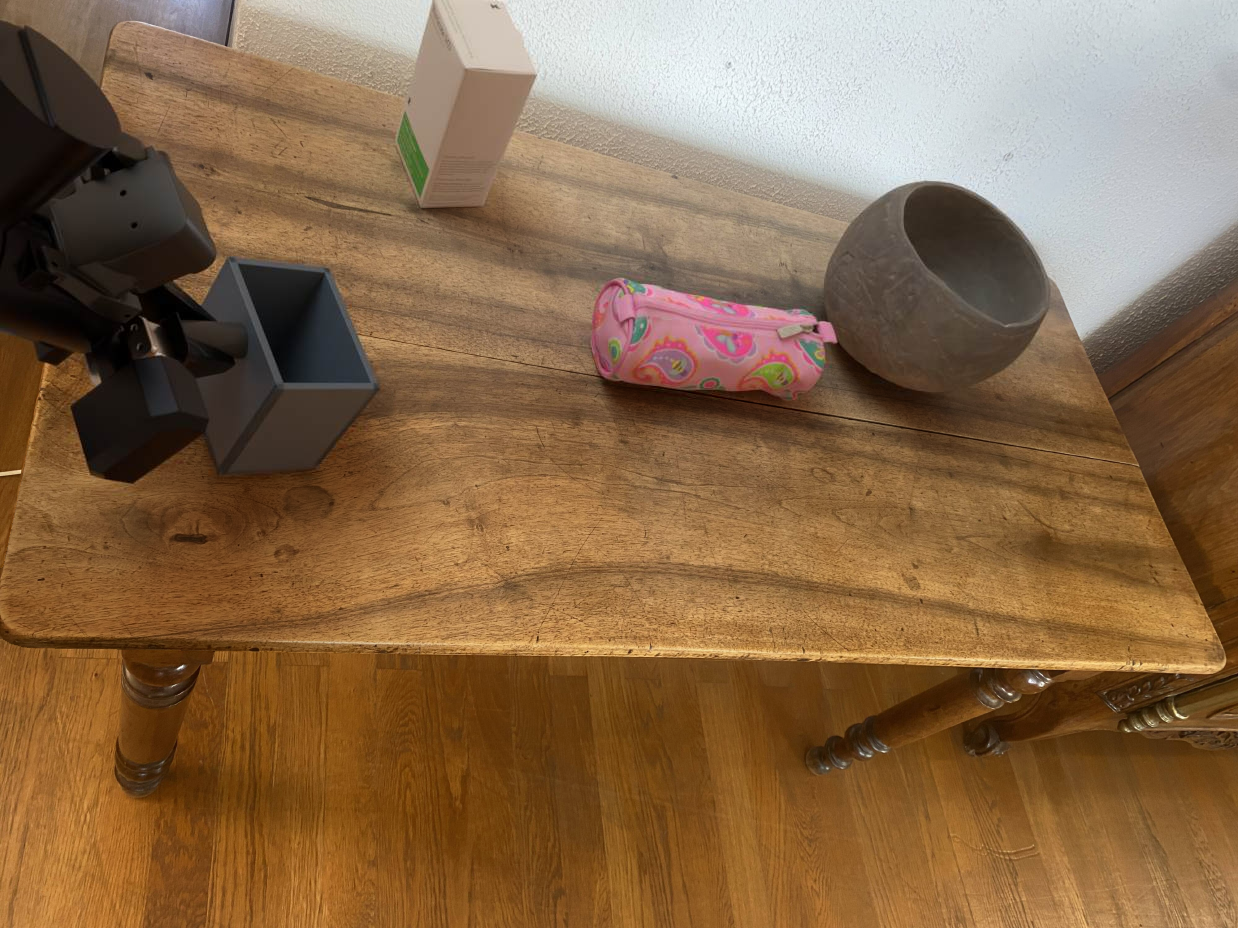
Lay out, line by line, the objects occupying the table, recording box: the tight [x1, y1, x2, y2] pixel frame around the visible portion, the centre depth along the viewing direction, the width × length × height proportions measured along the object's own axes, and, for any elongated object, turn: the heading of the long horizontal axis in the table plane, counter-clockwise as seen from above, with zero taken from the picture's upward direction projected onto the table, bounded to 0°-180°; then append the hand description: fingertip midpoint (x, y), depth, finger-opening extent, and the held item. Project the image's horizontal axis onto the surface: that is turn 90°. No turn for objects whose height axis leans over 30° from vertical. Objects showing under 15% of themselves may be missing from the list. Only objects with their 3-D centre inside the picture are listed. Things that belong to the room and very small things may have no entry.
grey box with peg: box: [158, 256, 381, 477], centre depth 57 cm, size 12×10×10 cm
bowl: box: [822, 180, 1052, 393], centre depth 88 cm, size 21×21×15 cm
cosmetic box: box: [394, 0, 538, 209], centre depth 75 cm, size 8×7×16 cm
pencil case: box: [590, 277, 838, 402], centre depth 78 cm, size 21×9×9 cm, turn 99°
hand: (223, 349), depth 54 cm, fingers closed on grey box with peg, 2 cm apart
